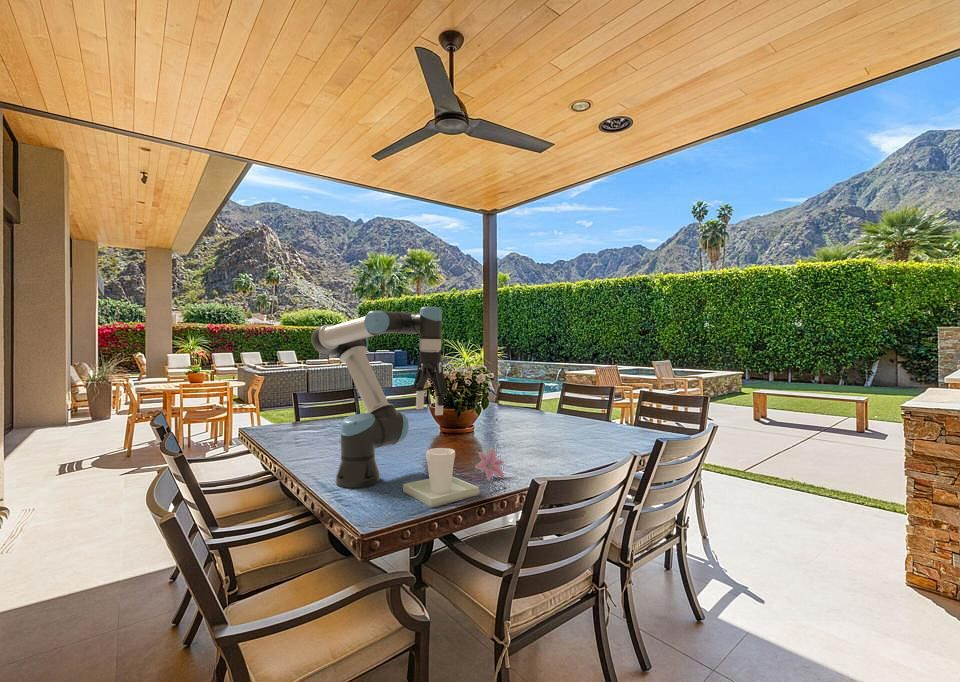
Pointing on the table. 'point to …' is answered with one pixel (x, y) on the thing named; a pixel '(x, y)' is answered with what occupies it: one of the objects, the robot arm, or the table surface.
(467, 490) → the tray
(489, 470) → the lily
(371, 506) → the table surface
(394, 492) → the table surface
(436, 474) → the foam cup
